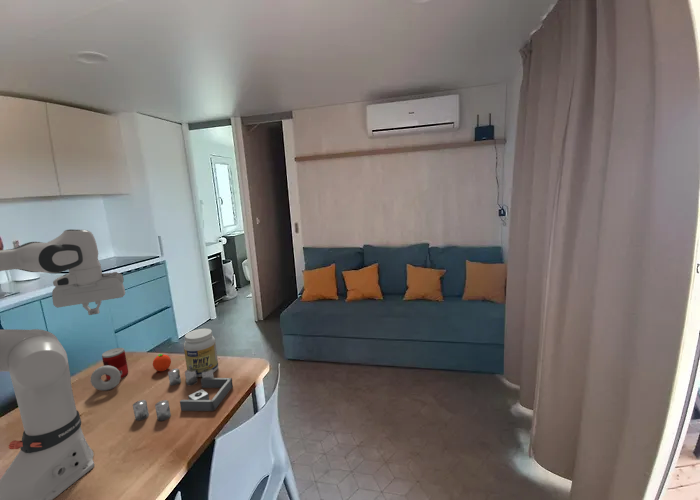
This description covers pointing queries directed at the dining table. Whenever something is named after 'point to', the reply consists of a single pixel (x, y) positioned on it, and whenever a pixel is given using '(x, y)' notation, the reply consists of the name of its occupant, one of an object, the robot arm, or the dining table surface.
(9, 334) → the robot arm
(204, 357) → the supplement tub
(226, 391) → the tray
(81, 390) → the dining table surface
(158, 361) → the clementine
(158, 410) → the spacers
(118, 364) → the canned food
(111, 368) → the donut
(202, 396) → the grey square block
